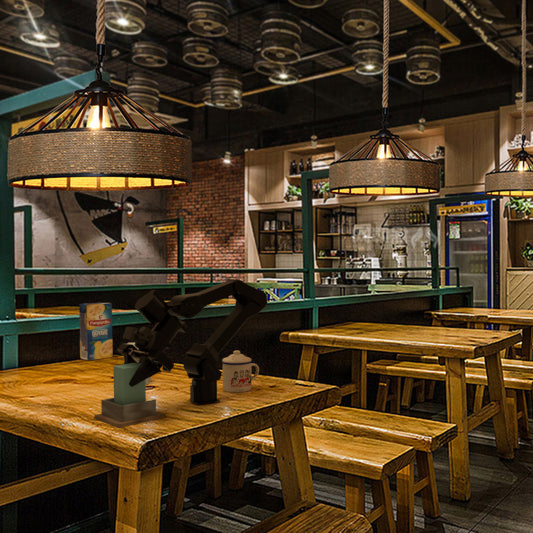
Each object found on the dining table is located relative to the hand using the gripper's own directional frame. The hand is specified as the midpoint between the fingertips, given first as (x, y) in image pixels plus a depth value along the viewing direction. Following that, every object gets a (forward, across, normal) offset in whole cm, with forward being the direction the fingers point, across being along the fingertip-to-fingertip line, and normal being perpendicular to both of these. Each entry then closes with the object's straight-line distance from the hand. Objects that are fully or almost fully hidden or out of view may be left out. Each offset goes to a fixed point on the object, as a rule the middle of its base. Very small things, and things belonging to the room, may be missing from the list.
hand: (124, 384), depth 146 cm
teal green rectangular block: (+4, 0, +6) cm, 7 cm away
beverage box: (-22, -93, +35) cm, 102 cm away
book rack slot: (+5, 0, +7) cm, 9 cm away
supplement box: (-11, -36, +24) cm, 45 cm away
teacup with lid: (-23, -5, +36) cm, 43 cm away
